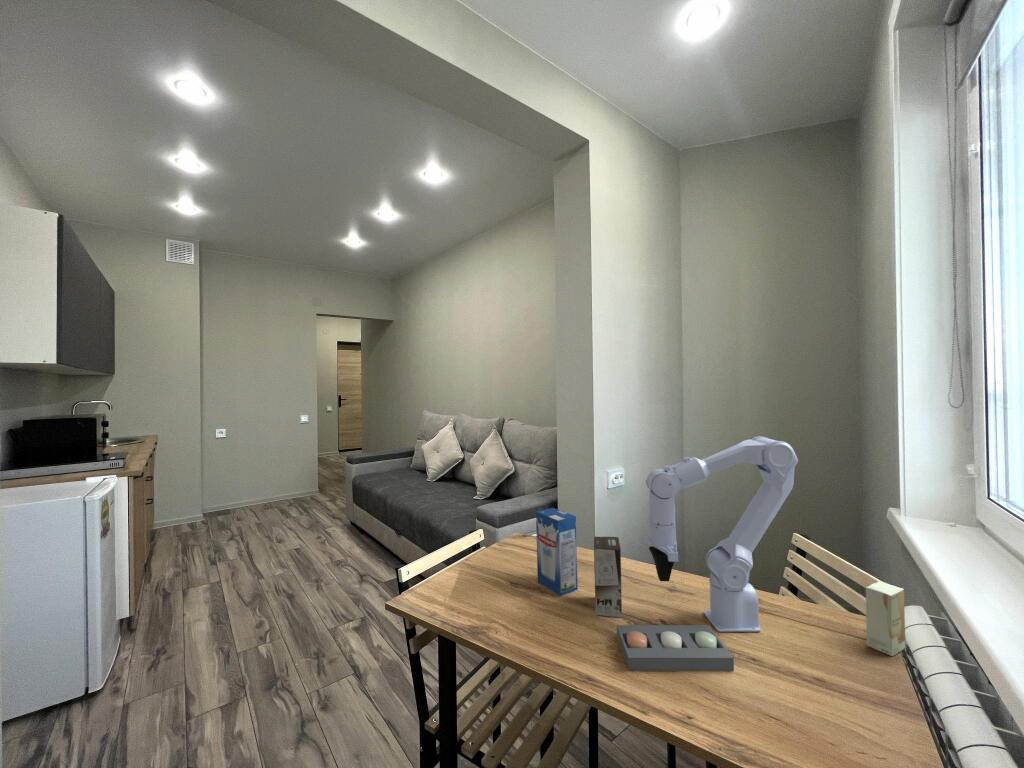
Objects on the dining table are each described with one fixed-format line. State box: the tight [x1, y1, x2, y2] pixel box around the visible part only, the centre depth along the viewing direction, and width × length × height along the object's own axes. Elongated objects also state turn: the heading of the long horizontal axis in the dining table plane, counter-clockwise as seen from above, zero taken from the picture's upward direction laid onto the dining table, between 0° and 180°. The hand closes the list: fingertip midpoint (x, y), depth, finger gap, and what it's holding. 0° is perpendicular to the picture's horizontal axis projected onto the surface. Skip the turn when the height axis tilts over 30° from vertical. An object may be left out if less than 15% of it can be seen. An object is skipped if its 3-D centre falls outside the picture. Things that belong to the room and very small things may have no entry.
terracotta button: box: [627, 631, 647, 648], centre depth 87 cm, size 4×4×3 cm
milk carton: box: [535, 507, 578, 597], centre depth 116 cm, size 10×6×20 cm, turn 33°
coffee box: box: [593, 536, 623, 618], centre depth 105 cm, size 9×6×16 cm
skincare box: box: [865, 580, 906, 657], centre depth 87 cm, size 6×4×12 cm
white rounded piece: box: [661, 631, 682, 648], centre depth 86 cm, size 4×4×3 cm
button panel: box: [616, 624, 735, 672], centre depth 86 cm, size 20×11×2 cm, turn 88°
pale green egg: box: [695, 631, 717, 648], centre depth 86 cm, size 4×4×3 cm
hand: (663, 579), depth 98 cm, fingers closed
